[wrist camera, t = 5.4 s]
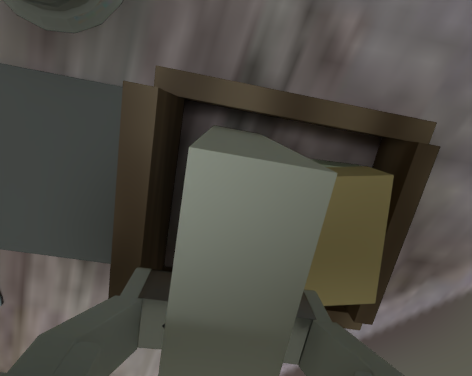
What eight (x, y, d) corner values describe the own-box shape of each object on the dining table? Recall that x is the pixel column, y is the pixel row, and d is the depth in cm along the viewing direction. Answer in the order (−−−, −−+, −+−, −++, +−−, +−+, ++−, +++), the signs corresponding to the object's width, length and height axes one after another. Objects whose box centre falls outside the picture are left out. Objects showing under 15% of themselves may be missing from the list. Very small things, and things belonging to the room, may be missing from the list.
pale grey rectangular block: (259, 133, 20) (337, 173, 6) (234, 261, 22) (248, 482, 9) (213, 125, 19) (188, 146, 6) (193, 256, 22) (144, 475, 9)
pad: (143, 91, 19) (140, 90, 18) (128, 261, 22) (125, 265, 22) (-5, 62, 18) (-13, 60, 17) (4, 245, 21) (-2, 248, 21)
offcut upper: (367, 166, 18) (393, 175, 16) (353, 277, 21) (375, 303, 18) (283, 168, 18) (294, 177, 15) (279, 280, 20) (288, 307, 18)
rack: (406, 121, 20) (519, 124, 12) (343, 304, 24) (399, 391, 17) (166, 73, 18) (125, 42, 11) (144, 279, 23) (104, 362, 15)
